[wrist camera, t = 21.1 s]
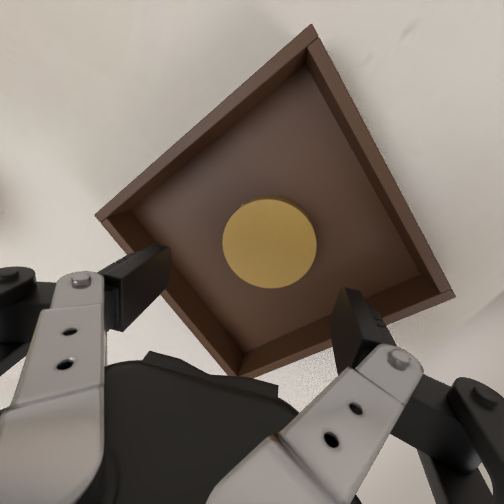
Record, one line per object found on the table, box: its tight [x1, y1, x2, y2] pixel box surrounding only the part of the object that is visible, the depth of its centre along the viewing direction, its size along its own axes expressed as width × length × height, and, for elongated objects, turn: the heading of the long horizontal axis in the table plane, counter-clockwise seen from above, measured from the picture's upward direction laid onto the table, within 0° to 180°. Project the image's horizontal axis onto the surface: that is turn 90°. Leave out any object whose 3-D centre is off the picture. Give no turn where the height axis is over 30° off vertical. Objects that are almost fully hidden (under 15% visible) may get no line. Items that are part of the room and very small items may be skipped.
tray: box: [95, 24, 456, 378], centre depth 16 cm, size 15×15×3 cm
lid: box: [222, 196, 317, 288], centre depth 17 cm, size 6×6×1 cm
